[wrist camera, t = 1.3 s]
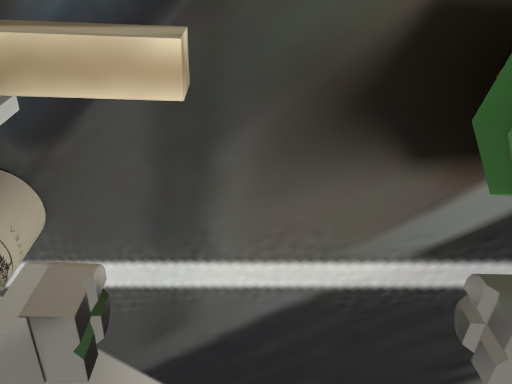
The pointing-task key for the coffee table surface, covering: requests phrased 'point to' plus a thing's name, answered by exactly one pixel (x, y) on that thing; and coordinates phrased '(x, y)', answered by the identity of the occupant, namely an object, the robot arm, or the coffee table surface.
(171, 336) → the coffee table surface
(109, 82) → the rod
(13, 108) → the tunnel
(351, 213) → the coffee table surface
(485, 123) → the decorative tree
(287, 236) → the coffee table surface
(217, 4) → the coffee table surface
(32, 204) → the travel mug
